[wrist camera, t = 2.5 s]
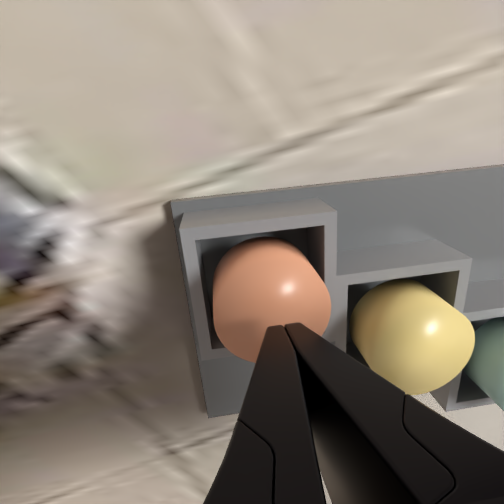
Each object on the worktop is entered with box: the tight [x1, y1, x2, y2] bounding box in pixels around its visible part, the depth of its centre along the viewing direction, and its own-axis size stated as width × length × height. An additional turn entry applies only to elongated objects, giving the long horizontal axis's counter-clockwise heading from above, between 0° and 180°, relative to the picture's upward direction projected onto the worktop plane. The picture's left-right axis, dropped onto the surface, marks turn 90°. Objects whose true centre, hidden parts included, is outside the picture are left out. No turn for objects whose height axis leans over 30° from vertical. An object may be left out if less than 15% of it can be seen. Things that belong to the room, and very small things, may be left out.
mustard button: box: [349, 279, 475, 395], centre depth 12 cm, size 3×3×2 cm
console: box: [170, 164, 504, 418], centre depth 13 cm, size 15×10×2 cm, turn 95°
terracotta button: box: [213, 236, 331, 363], centre depth 10 cm, size 3×3×2 cm
